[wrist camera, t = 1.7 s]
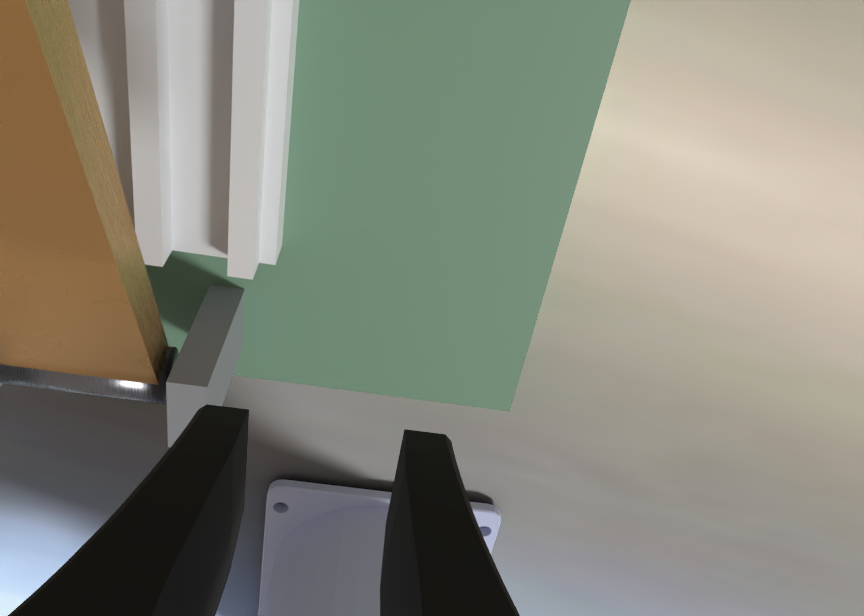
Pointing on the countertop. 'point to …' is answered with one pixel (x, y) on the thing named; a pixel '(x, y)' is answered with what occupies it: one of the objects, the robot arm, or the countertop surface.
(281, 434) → the countertop surface
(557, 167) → the board
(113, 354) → the orange brown flat bar
